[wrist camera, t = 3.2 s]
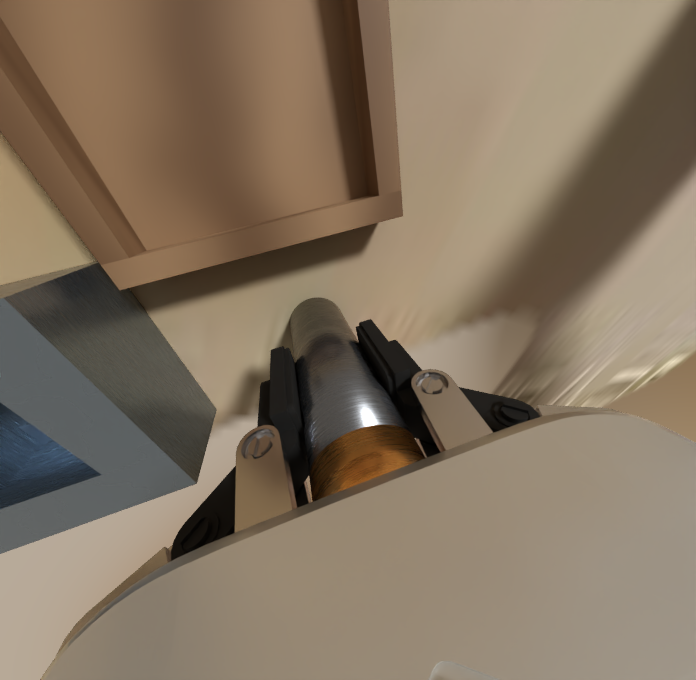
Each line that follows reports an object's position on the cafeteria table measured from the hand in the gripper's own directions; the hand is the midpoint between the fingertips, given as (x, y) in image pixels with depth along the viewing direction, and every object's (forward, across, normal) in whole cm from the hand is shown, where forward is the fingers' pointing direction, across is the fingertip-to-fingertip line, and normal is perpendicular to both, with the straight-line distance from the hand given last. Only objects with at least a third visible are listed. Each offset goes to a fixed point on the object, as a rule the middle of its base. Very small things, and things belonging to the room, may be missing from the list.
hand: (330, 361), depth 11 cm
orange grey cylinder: (+4, 0, 0) cm, 4 cm away
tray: (+4, +1, -10) cm, 11 cm away
